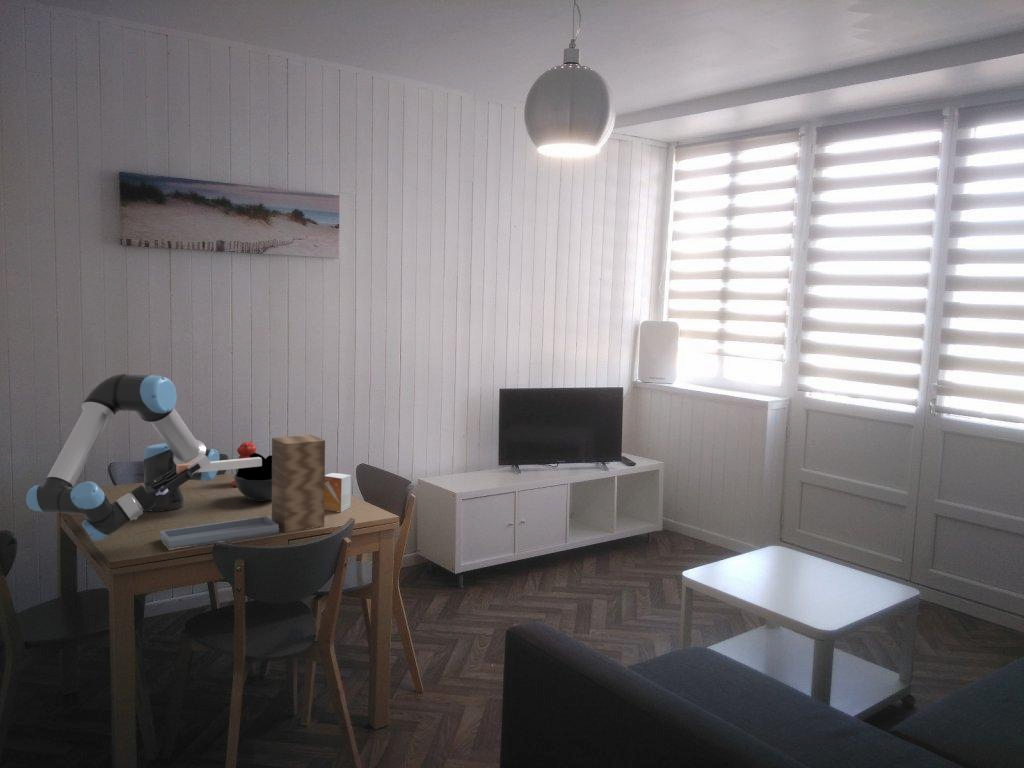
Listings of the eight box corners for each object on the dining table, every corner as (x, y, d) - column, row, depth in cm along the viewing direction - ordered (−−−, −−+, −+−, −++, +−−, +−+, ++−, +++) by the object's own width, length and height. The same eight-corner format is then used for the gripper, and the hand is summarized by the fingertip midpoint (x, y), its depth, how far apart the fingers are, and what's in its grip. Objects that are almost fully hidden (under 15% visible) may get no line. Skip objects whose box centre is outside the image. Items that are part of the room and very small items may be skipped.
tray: (169, 550, 233) (169, 541, 233) (159, 540, 243) (159, 531, 242) (278, 533, 254) (278, 524, 253) (265, 524, 263) (265, 515, 263)
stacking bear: (241, 480, 323) (241, 438, 321) (264, 482, 322) (264, 440, 320) (228, 486, 312) (228, 443, 310) (252, 488, 311) (252, 445, 309)
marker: (178, 474, 237) (178, 465, 236) (176, 472, 239) (176, 464, 239) (261, 466, 252) (261, 458, 252) (259, 464, 255) (259, 456, 254)
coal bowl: (230, 507, 282) (230, 457, 280) (238, 493, 301) (238, 446, 299) (286, 506, 286) (286, 457, 284) (291, 493, 305) (291, 446, 303)
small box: (322, 509, 283) (322, 475, 282) (332, 505, 289) (332, 472, 288) (341, 512, 280) (341, 478, 279) (350, 508, 286) (351, 474, 285)
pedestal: (284, 532, 255) (285, 444, 252) (271, 523, 264) (272, 438, 261) (324, 526, 263) (325, 440, 260) (310, 517, 273) (311, 434, 270)
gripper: (138, 505, 239) (205, 462, 250) (150, 518, 227) (220, 472, 238) (124, 486, 236) (193, 444, 247) (135, 498, 224) (207, 452, 235)
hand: (206, 458), depth 243 cm, fingers closed on marker, 3 cm apart
